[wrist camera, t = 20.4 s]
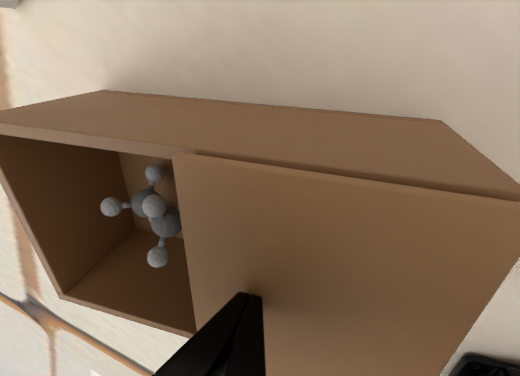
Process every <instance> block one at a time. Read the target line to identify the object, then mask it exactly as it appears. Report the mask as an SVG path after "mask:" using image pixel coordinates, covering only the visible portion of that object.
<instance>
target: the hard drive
mask: <svg viewBox="0 0 520 376" xmlns="http://www.w3.org/2000/svg"><path fill="white" fill-rule="evenodd" d="M18 3H19V0H0V7H5V8H16V7H17V5H18Z"/></svg>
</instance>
